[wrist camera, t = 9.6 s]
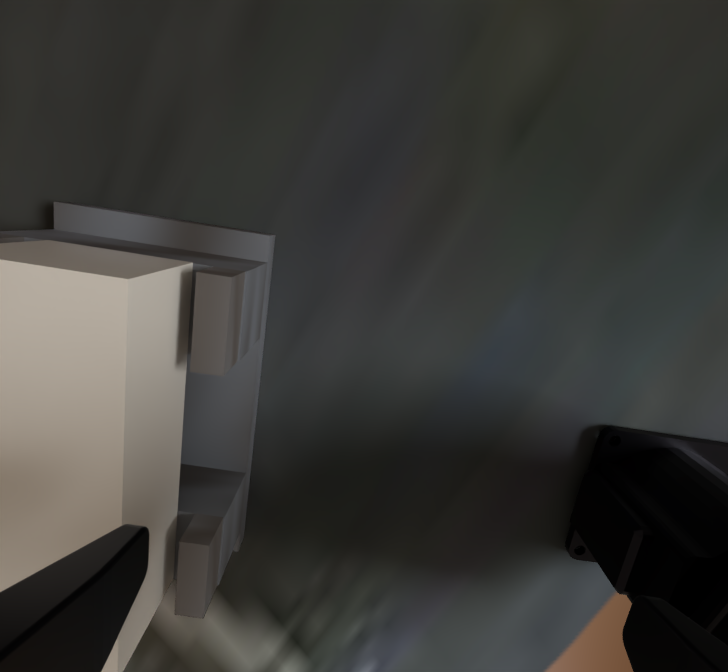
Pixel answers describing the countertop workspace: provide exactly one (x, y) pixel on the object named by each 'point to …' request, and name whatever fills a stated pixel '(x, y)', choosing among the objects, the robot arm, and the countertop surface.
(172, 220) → the dark grey angular piece
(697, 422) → the countertop surface
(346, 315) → the countertop surface
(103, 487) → the clay block
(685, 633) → the robot arm
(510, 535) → the countertop surface
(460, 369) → the countertop surface
